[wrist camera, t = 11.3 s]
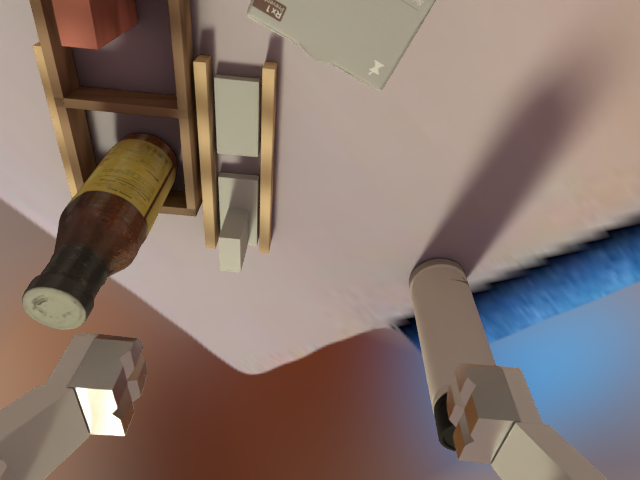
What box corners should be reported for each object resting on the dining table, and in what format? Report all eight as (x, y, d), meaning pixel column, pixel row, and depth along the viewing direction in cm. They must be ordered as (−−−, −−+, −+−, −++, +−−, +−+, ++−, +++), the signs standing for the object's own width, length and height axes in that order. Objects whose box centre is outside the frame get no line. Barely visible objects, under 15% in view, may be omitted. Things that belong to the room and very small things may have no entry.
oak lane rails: (45, 39, 39) (32, 45, 38) (277, 62, 40) (274, 69, 38) (90, 226, 51) (82, 236, 49) (270, 241, 51) (268, 253, 50)
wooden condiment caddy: (34, -75, 34) (-36, -68, 28) (185, -59, 35) (151, -48, 28) (93, 190, 48) (55, 236, 41) (203, 200, 48) (182, 247, 41)
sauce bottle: (106, 132, 44) (-25, 267, 28) (170, 127, 44) (75, 261, 28) (129, 192, 48) (25, 342, 32) (188, 188, 48) (114, 338, 32)
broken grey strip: (216, 74, 41) (200, 98, 36) (260, 78, 41) (250, 103, 36) (222, 237, 51) (211, 273, 46) (258, 240, 51) (249, 277, 46)
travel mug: (467, 253, 51) (527, 417, 35) (462, 297, 55) (514, 463, 39) (409, 256, 52) (442, 419, 36) (408, 300, 56) (437, 465, 40)
